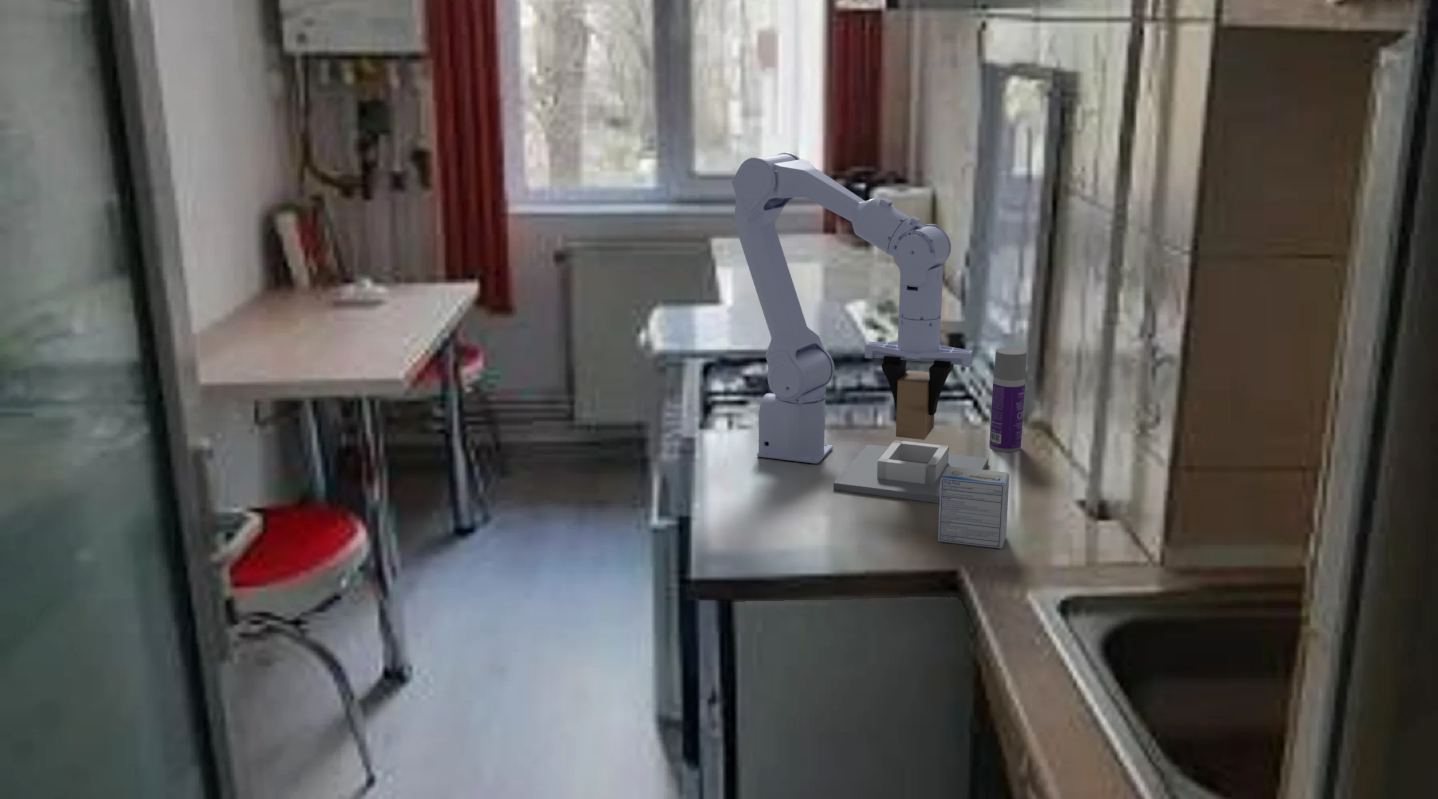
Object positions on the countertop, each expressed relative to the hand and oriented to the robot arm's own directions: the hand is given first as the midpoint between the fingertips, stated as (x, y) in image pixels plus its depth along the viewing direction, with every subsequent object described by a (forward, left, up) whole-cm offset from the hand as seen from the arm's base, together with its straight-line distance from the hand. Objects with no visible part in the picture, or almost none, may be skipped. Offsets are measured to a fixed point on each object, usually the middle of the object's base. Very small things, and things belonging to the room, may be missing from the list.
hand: (915, 411), depth 177 cm
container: (+10, +18, -10) cm, 23 cm away
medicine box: (+12, -20, -10) cm, 25 cm away
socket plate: (0, 0, -10) cm, 10 cm away
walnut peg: (0, 0, -3) cm, 3 cm away
